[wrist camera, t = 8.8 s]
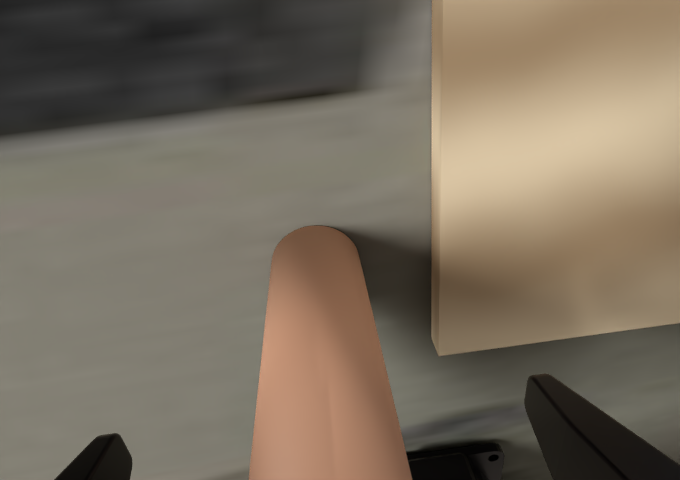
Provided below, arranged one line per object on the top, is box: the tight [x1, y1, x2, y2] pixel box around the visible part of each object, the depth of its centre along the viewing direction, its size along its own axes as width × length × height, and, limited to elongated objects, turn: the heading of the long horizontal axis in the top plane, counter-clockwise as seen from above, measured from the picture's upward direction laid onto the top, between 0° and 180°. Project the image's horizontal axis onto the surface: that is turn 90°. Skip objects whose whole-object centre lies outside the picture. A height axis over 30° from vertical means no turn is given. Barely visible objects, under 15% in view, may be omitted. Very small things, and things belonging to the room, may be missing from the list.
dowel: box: [249, 226, 412, 480], centre depth 11 cm, size 3×3×9 cm
